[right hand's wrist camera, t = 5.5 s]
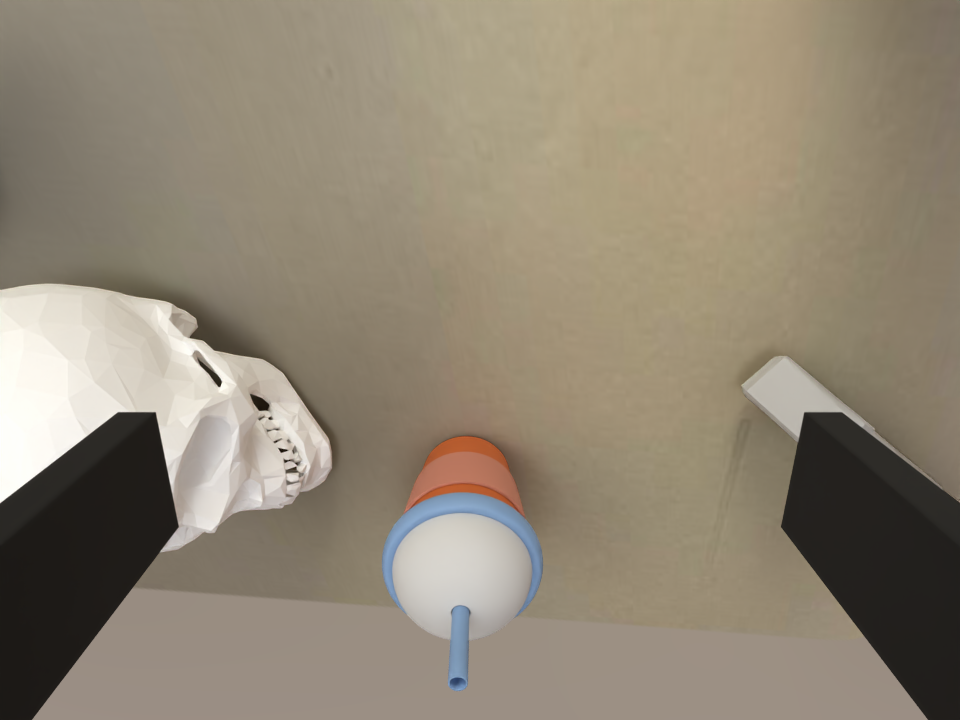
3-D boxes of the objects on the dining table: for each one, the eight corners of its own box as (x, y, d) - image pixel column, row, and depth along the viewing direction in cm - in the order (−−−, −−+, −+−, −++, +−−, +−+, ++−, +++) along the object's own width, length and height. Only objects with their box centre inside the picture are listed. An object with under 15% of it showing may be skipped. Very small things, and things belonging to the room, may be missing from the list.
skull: (305, 525, 46) (225, 707, 31) (6, 402, 42) (-250, 540, 27) (378, 374, 42) (328, 497, 27) (57, 226, 39) (-207, 273, 24)
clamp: (729, 382, 41) (781, 436, 35) (771, 341, 40) (833, 388, 34) (899, 521, 47) (969, 587, 41) (939, 488, 46) (1018, 551, 40)
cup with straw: (500, 541, 46) (512, 777, 29) (385, 503, 45) (329, 725, 28) (549, 441, 43) (594, 638, 26) (428, 397, 42) (393, 575, 25)
